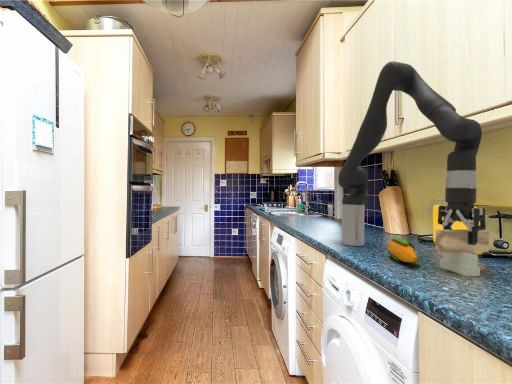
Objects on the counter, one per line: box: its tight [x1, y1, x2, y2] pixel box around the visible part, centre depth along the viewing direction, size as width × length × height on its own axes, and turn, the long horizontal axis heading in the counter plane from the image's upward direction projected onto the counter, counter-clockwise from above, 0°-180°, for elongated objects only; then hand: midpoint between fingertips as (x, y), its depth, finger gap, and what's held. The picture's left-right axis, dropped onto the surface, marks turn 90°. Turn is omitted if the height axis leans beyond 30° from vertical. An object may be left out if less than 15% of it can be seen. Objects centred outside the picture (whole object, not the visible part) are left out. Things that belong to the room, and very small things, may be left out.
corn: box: [387, 237, 421, 266], centre depth 97 cm, size 7×8×20 cm
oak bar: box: [434, 228, 490, 253], centre depth 87 cm, size 4×14×6 cm, turn 99°
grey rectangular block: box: [439, 251, 481, 277], centre depth 87 cm, size 10×4×6 cm, turn 9°
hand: (459, 242), depth 87 cm, fingers open, 8 cm apart
